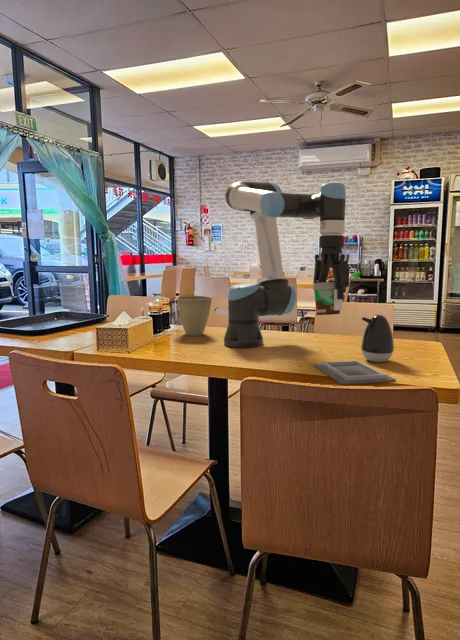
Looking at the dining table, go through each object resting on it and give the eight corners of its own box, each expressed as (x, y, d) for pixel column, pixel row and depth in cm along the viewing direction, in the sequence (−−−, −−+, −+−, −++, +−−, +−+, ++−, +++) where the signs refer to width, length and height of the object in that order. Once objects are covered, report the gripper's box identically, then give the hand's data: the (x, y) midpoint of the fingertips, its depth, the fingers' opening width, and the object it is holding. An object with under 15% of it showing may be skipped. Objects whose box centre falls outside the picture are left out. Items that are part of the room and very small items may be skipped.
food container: (331, 315, 134) (330, 281, 134) (314, 315, 138) (312, 283, 138) (350, 312, 143) (349, 281, 143) (333, 312, 147) (332, 282, 147)
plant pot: (179, 338, 185) (179, 299, 182) (175, 331, 199) (175, 296, 196) (215, 336, 188) (214, 298, 186) (208, 330, 202) (208, 295, 200)
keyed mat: (313, 366, 139) (313, 361, 139) (360, 363, 142) (361, 358, 142) (341, 384, 120) (341, 378, 119) (395, 381, 123) (396, 375, 122)
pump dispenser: (357, 356, 152) (359, 312, 150) (388, 357, 151) (391, 312, 149) (363, 364, 142) (365, 316, 140) (396, 364, 141) (399, 317, 138)
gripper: (302, 236, 145) (301, 306, 148) (344, 233, 128) (341, 312, 131) (321, 236, 149) (319, 305, 152) (364, 233, 131) (361, 311, 134)
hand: (329, 308), depth 141 cm, fingers closed on food container, 7 cm apart
